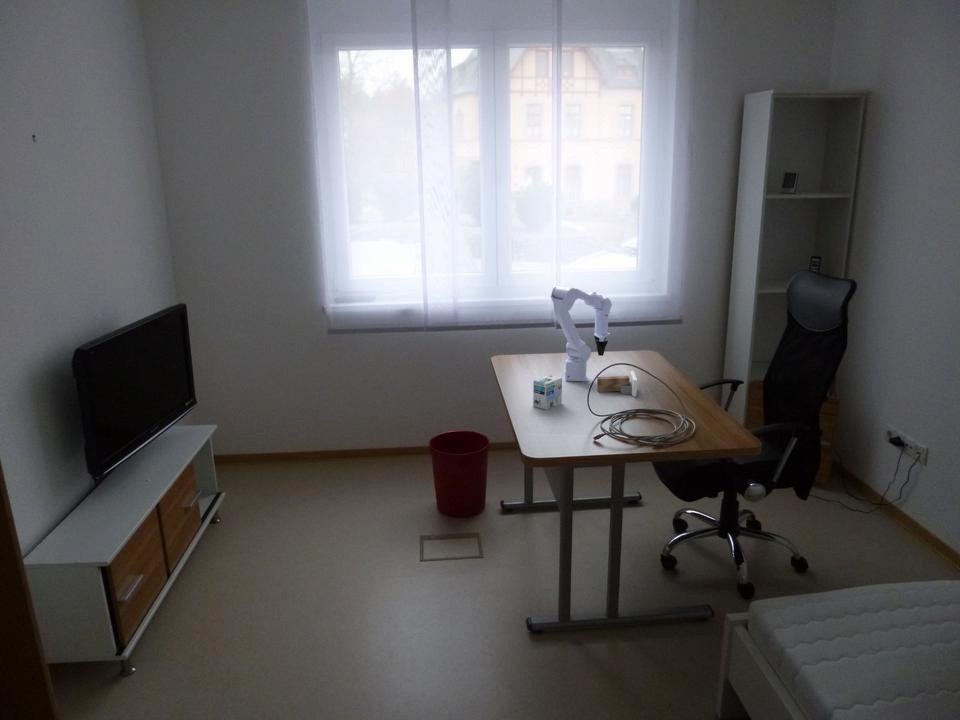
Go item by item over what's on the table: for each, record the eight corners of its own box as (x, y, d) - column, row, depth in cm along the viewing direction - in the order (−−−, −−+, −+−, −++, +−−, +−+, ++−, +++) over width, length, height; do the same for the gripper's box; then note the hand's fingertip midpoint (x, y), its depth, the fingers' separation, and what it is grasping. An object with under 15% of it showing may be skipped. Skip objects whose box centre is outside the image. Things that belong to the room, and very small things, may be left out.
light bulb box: (545, 410, 267) (546, 383, 265) (532, 406, 272) (532, 380, 269) (562, 403, 275) (563, 377, 272) (548, 399, 279) (549, 374, 277)
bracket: (621, 396, 283) (622, 379, 281) (618, 386, 296) (619, 370, 294) (636, 396, 283) (637, 380, 281) (632, 386, 295) (633, 371, 293)
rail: (597, 391, 289) (597, 379, 287) (597, 389, 292) (597, 376, 291) (629, 390, 287) (629, 378, 286) (628, 388, 290) (628, 375, 289)
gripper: (611, 327, 302) (610, 357, 305) (609, 320, 315) (608, 349, 319) (595, 327, 302) (594, 357, 306) (593, 320, 316) (592, 349, 320)
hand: (600, 353), depth 313 cm, fingers open, 7 cm apart
